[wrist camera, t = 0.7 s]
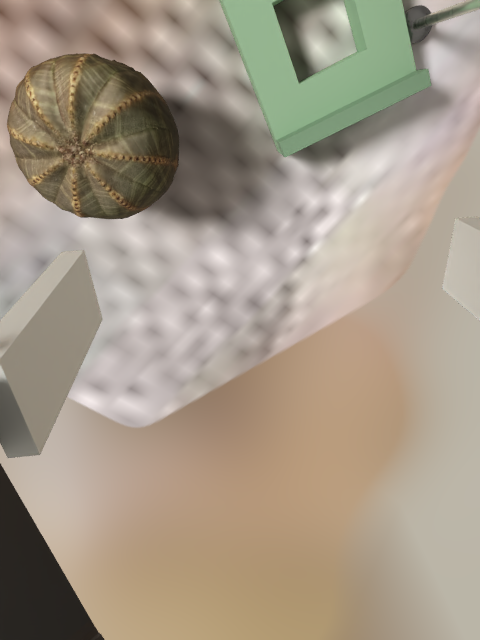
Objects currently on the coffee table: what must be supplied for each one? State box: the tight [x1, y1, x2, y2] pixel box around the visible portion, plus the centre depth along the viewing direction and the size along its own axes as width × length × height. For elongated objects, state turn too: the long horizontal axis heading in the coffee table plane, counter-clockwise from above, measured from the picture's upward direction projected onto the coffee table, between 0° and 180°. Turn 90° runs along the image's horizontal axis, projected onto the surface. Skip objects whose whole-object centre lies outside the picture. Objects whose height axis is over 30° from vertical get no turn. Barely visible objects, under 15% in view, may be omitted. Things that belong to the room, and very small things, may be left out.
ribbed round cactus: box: [7, 54, 179, 219], centre depth 30 cm, size 11×11×12 cm
